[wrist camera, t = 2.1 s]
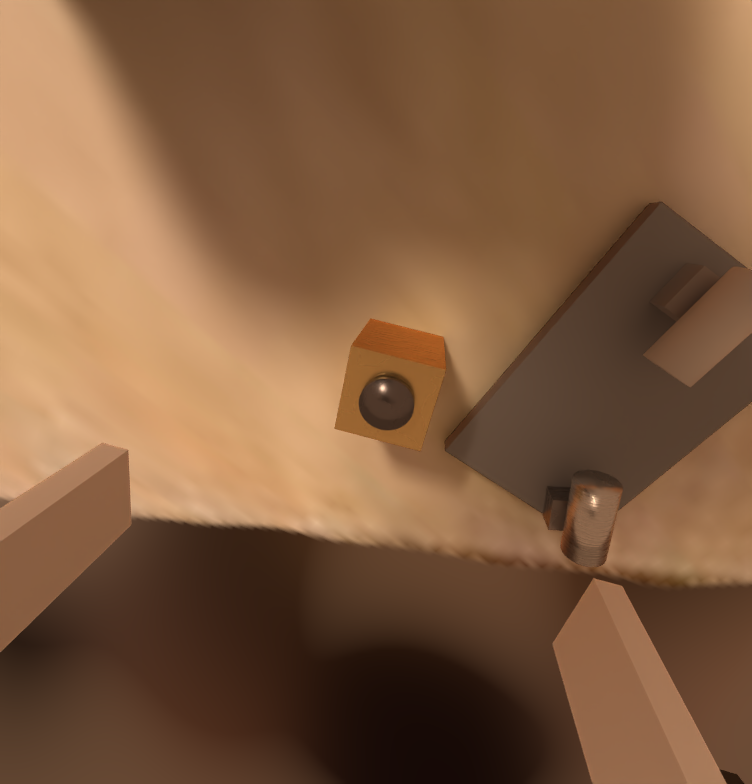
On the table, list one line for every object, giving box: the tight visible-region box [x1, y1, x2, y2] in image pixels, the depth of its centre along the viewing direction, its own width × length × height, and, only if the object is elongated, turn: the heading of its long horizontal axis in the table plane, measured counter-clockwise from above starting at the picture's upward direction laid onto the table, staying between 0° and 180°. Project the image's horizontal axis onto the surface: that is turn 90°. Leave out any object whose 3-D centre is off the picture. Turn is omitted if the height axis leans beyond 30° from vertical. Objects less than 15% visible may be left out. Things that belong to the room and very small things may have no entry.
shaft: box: [543, 470, 623, 567], centre depth 25 cm, size 5×4×4 cm
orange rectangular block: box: [334, 318, 446, 451], centre depth 23 cm, size 5×5×7 cm
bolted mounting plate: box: [445, 202, 752, 513], centre depth 22 cm, size 18×12×5 cm, turn 147°
